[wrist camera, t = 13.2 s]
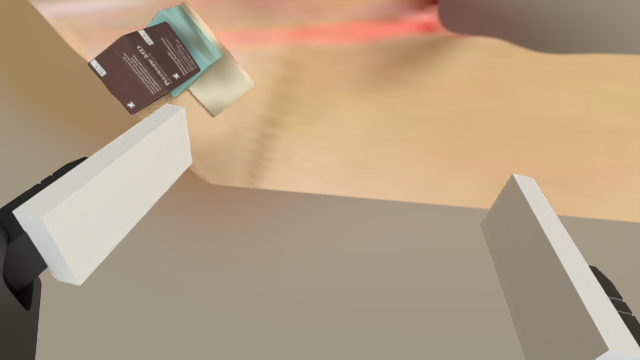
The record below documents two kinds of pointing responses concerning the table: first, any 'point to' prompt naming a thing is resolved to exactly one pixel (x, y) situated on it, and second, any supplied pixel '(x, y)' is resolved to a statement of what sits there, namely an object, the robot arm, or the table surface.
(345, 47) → the table surface
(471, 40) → the table surface
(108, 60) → the box
